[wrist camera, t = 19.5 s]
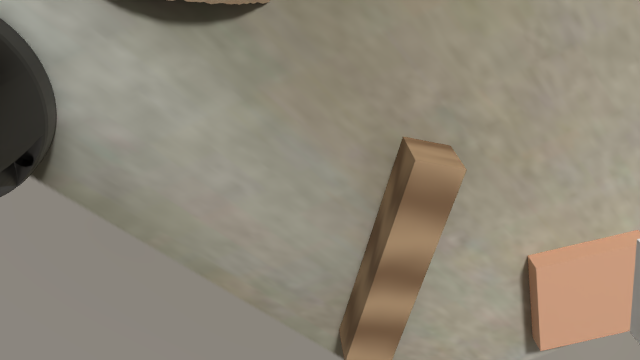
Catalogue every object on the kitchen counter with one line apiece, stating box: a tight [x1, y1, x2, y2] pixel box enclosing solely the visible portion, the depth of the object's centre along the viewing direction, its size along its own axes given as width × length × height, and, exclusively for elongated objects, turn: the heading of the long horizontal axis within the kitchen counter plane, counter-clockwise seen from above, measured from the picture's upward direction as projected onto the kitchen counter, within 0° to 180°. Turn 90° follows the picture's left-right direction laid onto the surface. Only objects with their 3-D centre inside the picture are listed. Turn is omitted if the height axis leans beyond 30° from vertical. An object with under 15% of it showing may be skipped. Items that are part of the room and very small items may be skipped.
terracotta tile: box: [528, 230, 640, 351], centre depth 54 cm, size 2×10×10 cm
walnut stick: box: [339, 137, 466, 360], centre depth 49 cm, size 20×4×4 cm, turn 167°
